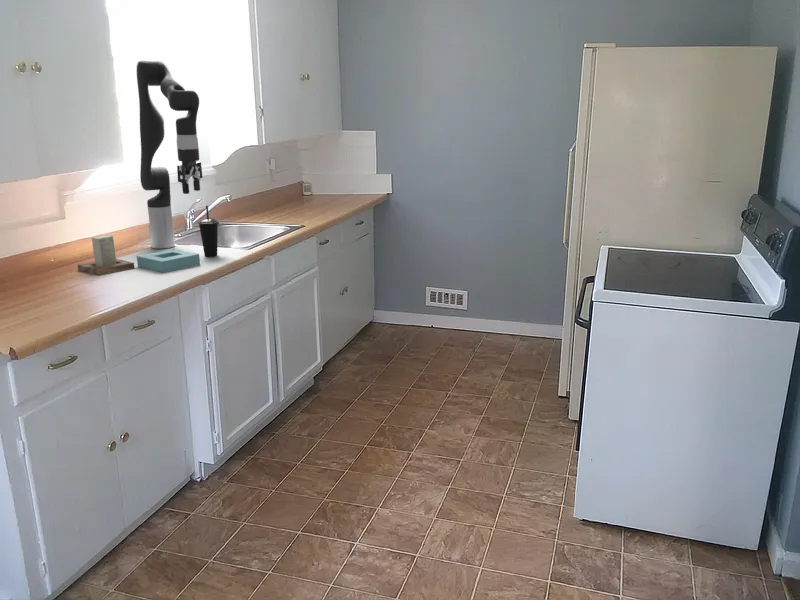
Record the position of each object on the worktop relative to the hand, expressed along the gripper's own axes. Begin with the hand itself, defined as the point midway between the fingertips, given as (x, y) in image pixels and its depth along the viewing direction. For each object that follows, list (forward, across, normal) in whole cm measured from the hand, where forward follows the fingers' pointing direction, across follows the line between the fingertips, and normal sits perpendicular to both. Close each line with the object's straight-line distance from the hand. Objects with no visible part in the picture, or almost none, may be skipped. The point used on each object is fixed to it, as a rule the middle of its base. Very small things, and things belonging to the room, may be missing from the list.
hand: (191, 192), depth 259 cm
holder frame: (+27, +16, -28) cm, 42 cm away
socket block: (+27, +7, -8) cm, 29 cm away
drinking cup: (+27, -11, 0) cm, 29 cm away
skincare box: (+27, +16, -28) cm, 42 cm away
